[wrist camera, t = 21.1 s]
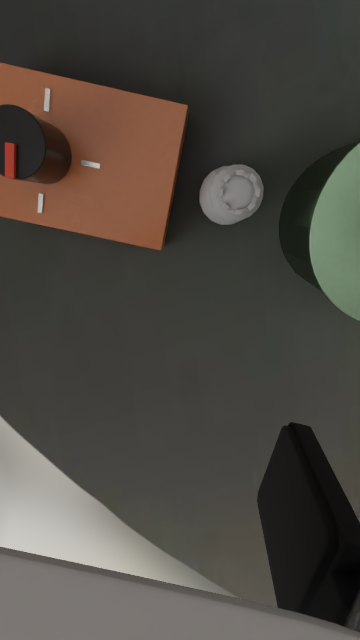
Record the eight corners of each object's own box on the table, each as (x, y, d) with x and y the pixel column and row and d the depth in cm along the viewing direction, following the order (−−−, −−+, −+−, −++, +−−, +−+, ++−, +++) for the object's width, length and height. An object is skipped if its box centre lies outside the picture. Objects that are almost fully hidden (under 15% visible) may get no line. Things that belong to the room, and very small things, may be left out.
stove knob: (16, 117, 23) (-26, 96, 19) (73, 128, 23) (44, 109, 19) (16, 178, 25) (-24, 172, 20) (70, 188, 25) (42, 184, 20)
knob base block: (188, 116, 26) (188, 104, 23) (164, 246, 29) (160, 251, 26) (11, 76, 25) (-13, 58, 22) (7, 212, 28) (-15, 213, 25)
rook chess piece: (188, 188, 27) (186, 181, 20) (235, 154, 26) (252, 133, 19) (217, 235, 28) (226, 246, 21) (263, 204, 27) (290, 203, 20)
